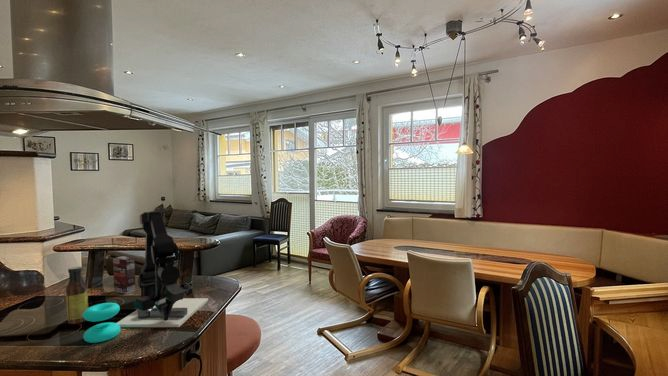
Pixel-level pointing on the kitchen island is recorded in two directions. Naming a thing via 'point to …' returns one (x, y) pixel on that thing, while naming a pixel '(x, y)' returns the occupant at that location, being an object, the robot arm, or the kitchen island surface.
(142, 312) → the pivot link
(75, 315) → the sauce bottle
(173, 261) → the robot arm
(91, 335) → the donuts
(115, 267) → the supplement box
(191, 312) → the base board
